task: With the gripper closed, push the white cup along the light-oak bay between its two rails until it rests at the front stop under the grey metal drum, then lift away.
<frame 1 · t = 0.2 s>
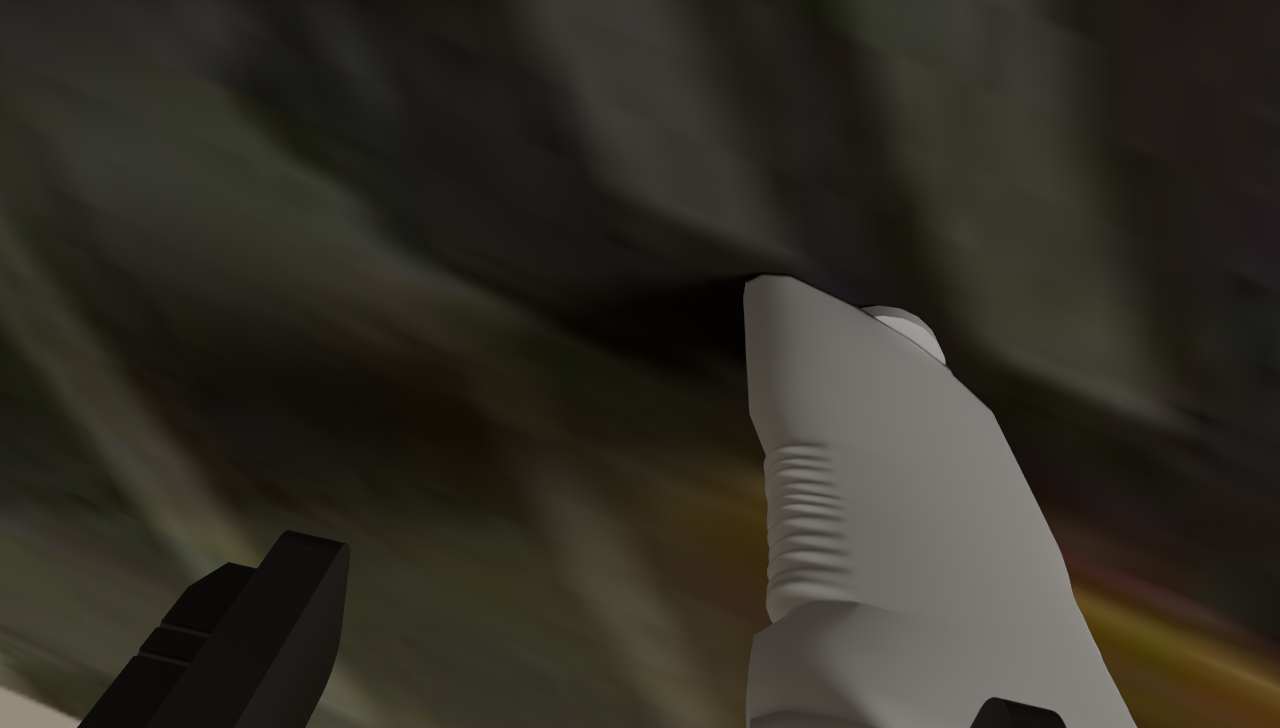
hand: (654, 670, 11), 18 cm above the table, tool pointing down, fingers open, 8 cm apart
tall pale column: (872, 361, 29), on the table
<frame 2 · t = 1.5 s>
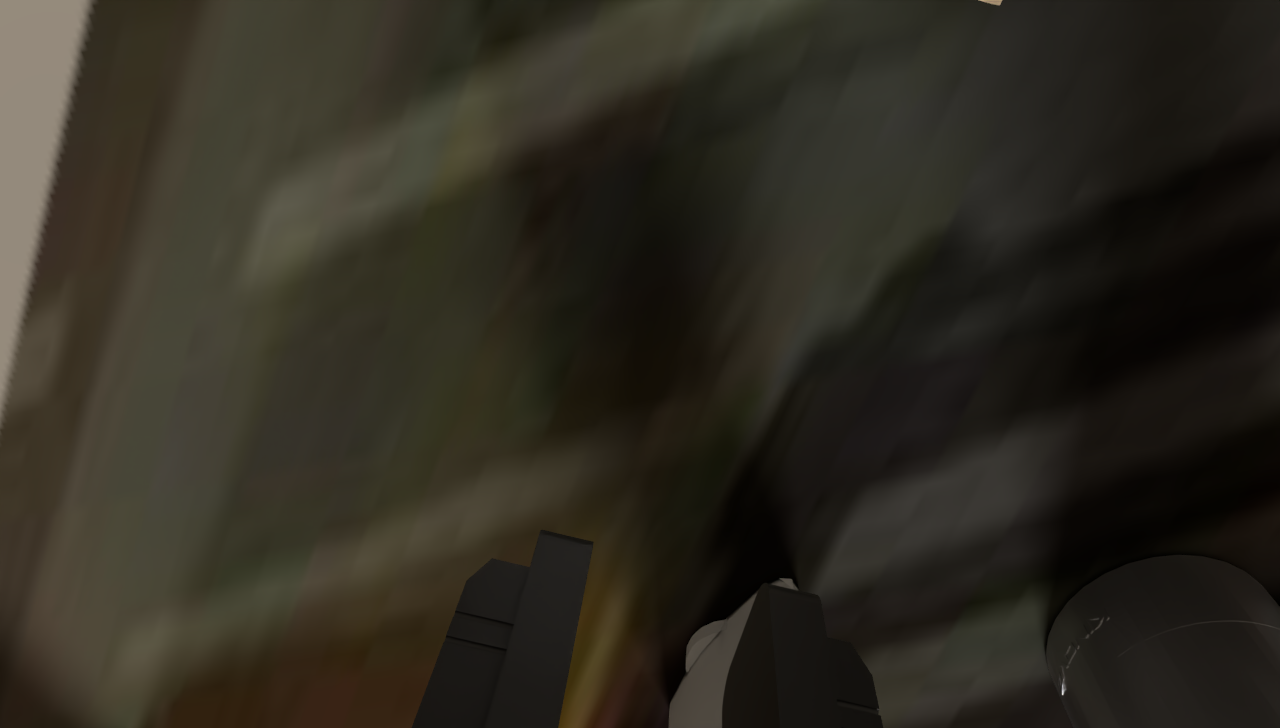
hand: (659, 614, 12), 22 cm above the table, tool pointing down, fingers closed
tall pale column: (731, 650, 41), on the table
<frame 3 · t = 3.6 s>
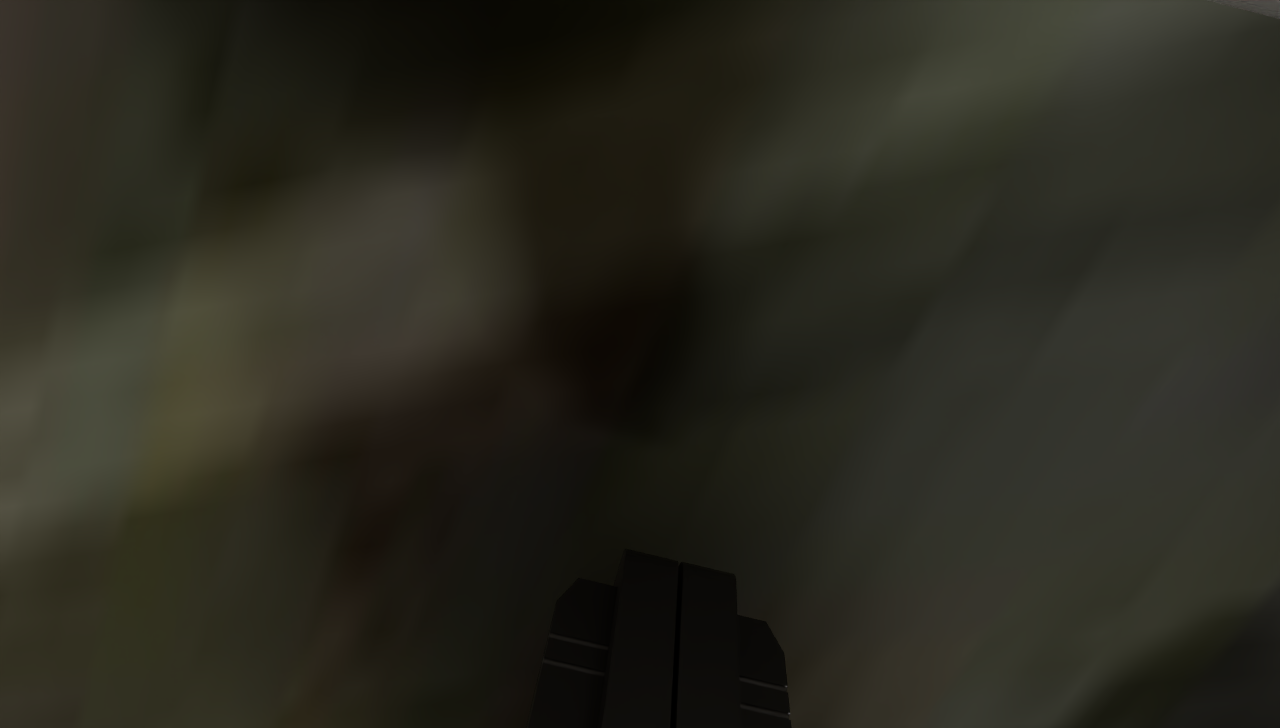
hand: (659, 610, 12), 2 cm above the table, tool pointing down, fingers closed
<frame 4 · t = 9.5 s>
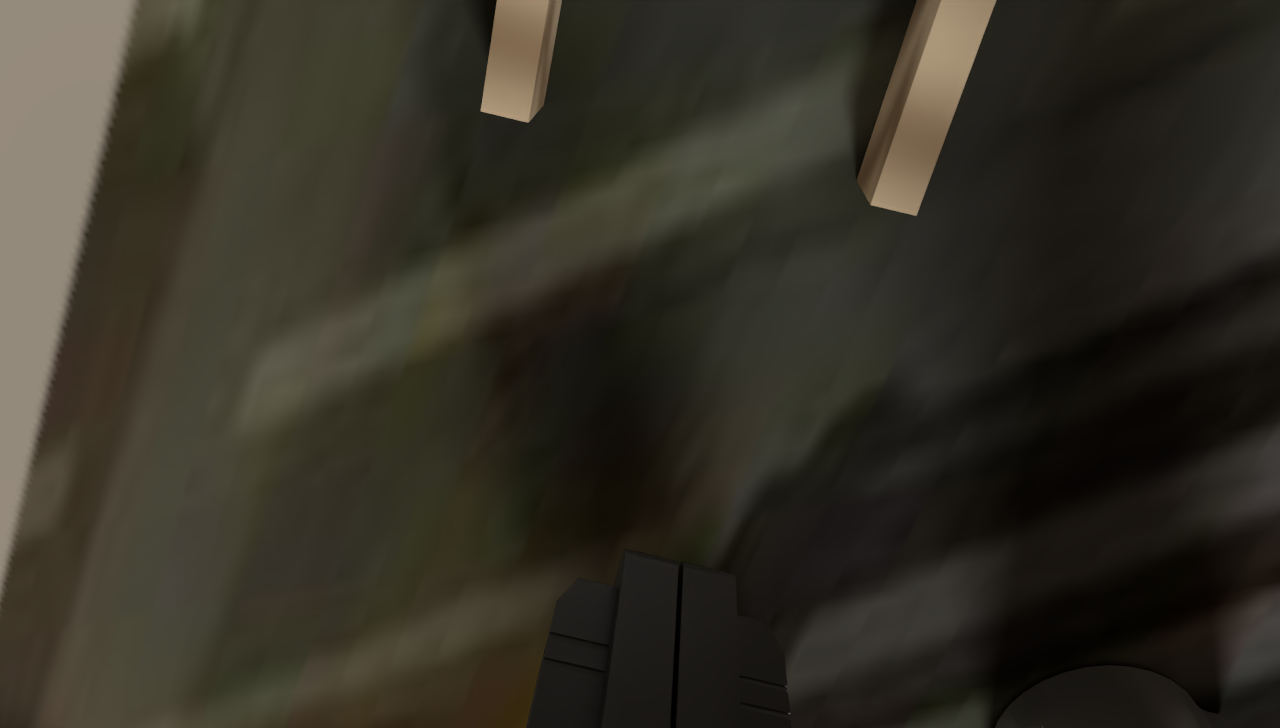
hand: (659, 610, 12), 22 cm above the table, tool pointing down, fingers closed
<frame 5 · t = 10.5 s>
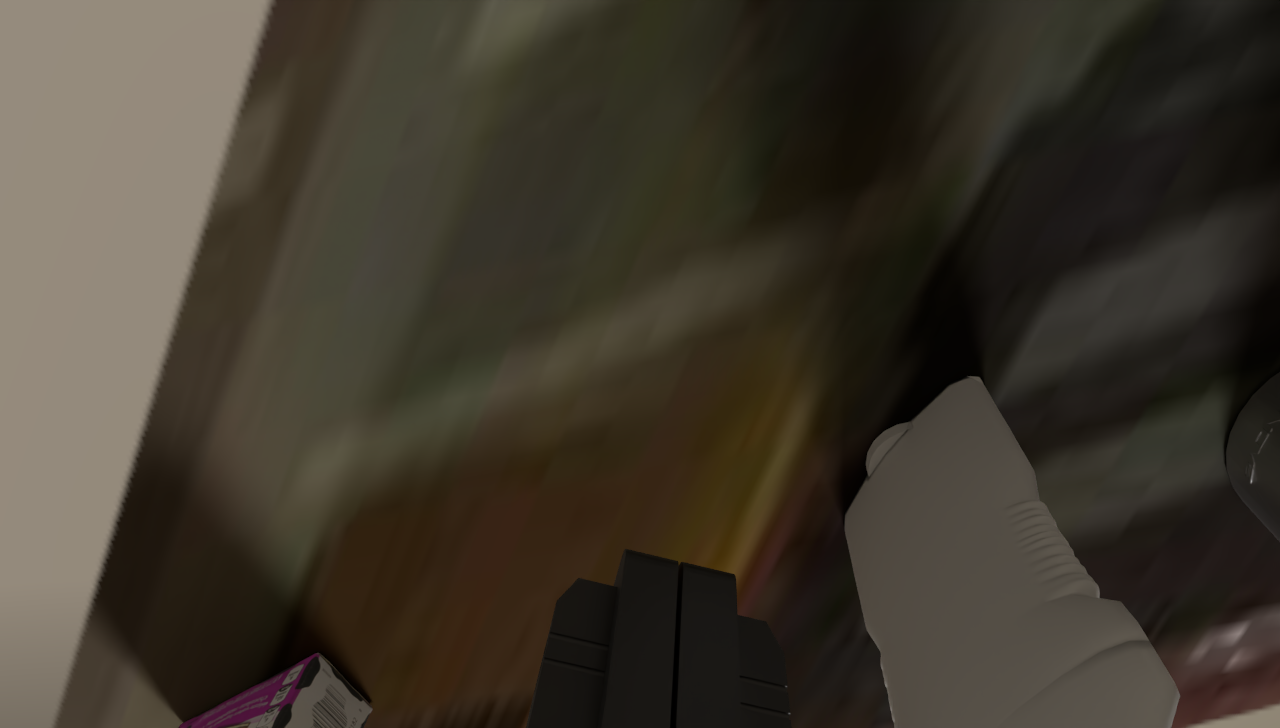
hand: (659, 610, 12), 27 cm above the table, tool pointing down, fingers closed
candy bar box: (275, 709, 52), on the table
tall pale column: (910, 457, 42), on the table
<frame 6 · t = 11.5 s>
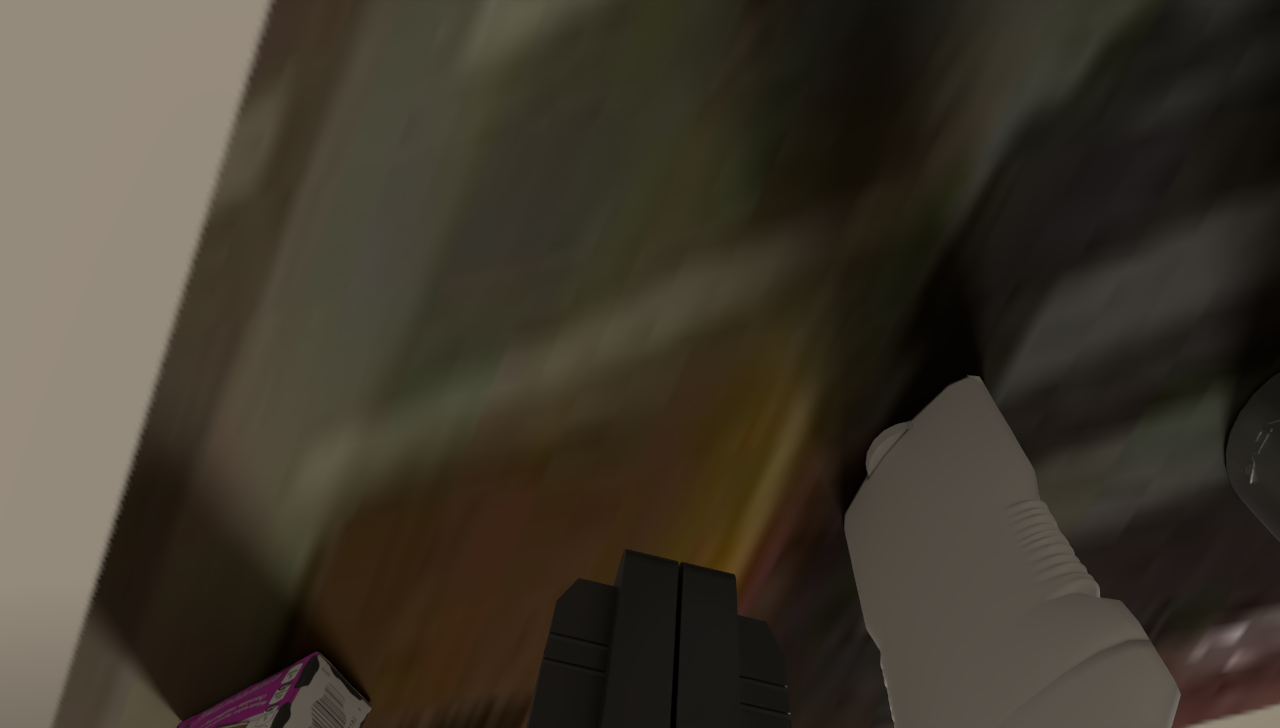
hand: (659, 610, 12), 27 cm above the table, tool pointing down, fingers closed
candy bar box: (274, 708, 52), on the table
tall pale column: (910, 457, 42), on the table
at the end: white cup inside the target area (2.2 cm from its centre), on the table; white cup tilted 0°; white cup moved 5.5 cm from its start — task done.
